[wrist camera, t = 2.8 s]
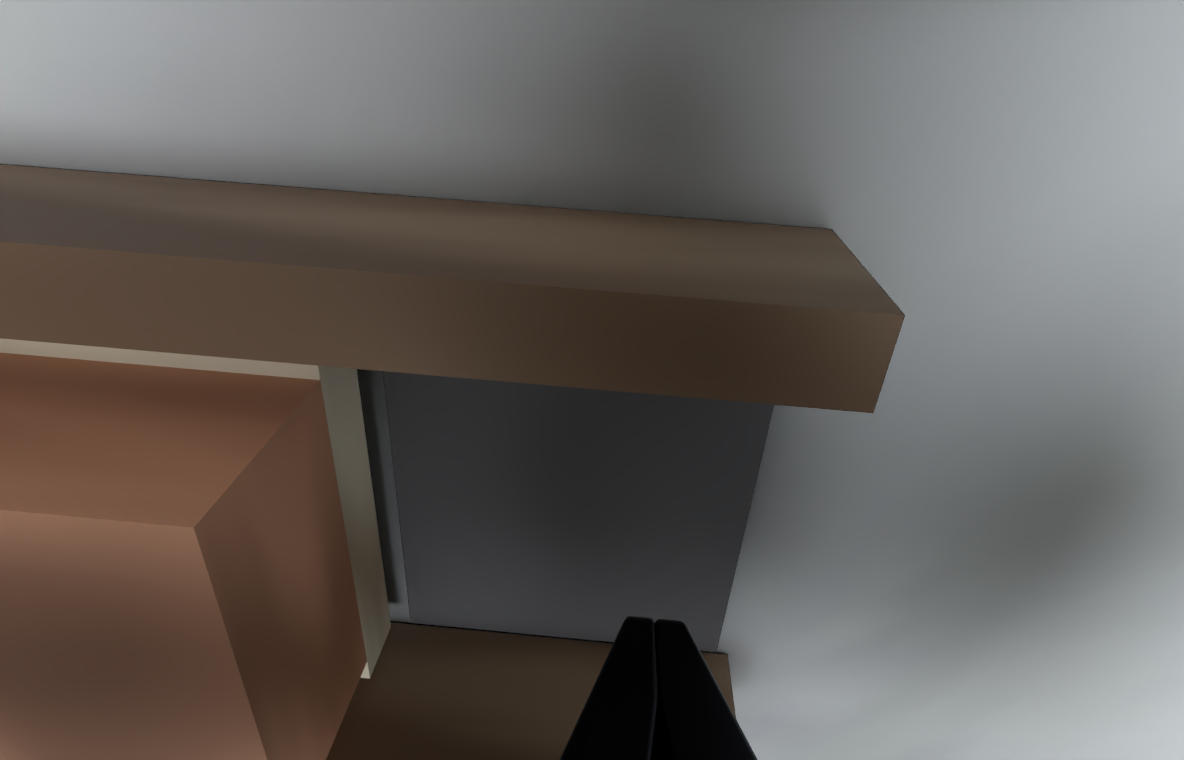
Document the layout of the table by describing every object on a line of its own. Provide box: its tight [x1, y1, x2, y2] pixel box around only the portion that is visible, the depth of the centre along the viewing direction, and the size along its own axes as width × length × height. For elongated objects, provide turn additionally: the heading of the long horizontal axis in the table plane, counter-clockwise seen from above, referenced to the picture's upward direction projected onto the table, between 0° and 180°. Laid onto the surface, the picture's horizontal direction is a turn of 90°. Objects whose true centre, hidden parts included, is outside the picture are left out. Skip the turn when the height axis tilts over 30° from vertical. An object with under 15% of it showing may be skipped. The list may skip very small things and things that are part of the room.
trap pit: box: [383, 371, 774, 652], centre depth 12 cm, size 7×6×1 cm
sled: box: [0, 338, 391, 760], centre depth 10 cm, size 7×8×4 cm
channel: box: [0, 164, 905, 760], centre depth 11 cm, size 10×20×3 cm, turn 87°
